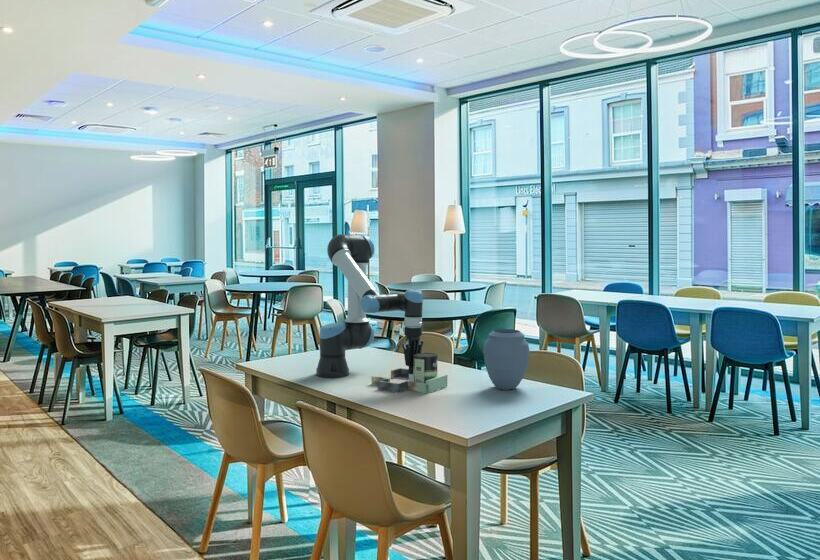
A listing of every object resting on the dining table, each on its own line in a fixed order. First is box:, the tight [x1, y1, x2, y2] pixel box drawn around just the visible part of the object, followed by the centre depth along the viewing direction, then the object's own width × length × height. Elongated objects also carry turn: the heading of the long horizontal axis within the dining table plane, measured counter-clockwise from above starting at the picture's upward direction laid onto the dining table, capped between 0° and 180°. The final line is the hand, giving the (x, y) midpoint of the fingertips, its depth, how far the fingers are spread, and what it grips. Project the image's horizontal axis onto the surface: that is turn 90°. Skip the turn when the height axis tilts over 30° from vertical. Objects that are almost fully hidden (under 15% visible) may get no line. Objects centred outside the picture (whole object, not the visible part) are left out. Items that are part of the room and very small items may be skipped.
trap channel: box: [371, 367, 418, 394], centre depth 284 cm, size 24×28×4 cm
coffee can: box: [413, 352, 439, 384], centre depth 278 cm, size 10×10×14 cm
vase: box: [482, 328, 530, 391], centre depth 277 cm, size 20×20×24 cm
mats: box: [394, 376, 409, 381], centre depth 285 cm, size 17×26×1 cm, turn 146°
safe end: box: [418, 374, 448, 394], centre depth 276 cm, size 5×15×5 cm, turn 146°
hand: (412, 381), depth 282 cm, fingers closed
